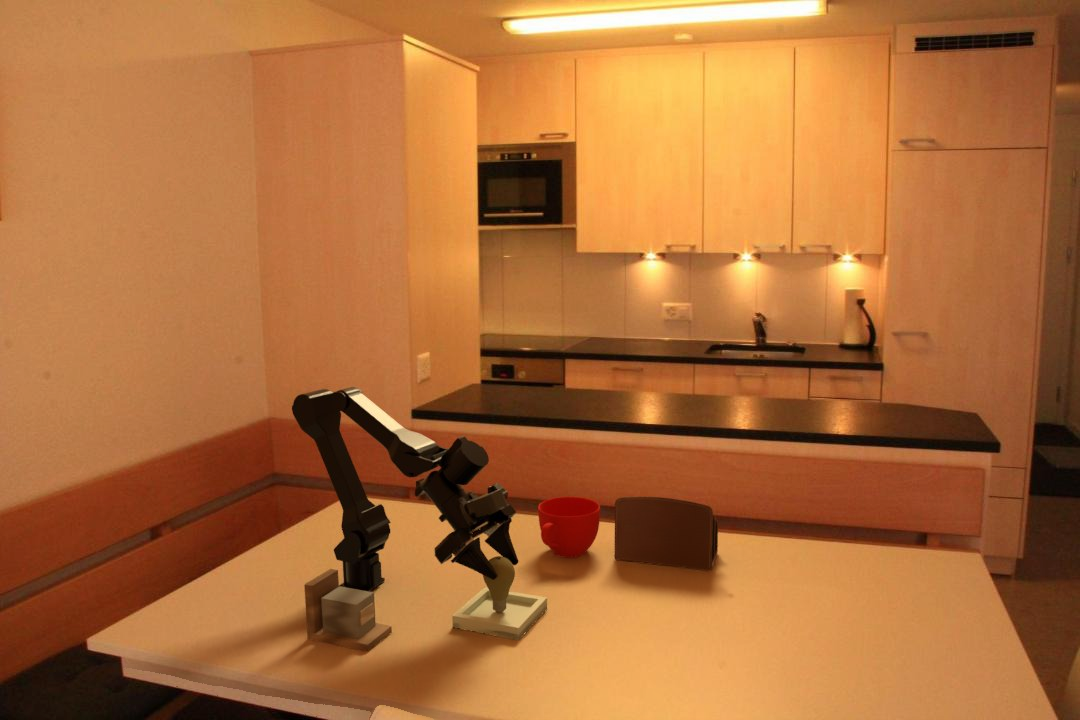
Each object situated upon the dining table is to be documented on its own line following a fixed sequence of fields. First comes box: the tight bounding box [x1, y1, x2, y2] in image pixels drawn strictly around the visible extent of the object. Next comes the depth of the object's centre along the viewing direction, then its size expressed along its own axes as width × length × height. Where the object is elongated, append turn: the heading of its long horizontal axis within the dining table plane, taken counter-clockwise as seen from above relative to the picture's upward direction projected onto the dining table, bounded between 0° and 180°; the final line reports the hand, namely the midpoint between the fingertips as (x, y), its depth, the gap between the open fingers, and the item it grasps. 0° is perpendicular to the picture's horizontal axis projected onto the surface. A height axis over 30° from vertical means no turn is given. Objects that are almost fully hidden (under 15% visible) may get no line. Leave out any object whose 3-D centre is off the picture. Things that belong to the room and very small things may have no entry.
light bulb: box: [482, 555, 516, 613], centre depth 146 cm, size 6×6×10 cm
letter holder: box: [613, 496, 719, 572], centre depth 173 cm, size 10×20×14 cm, turn 71°
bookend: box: [303, 568, 393, 653], centre depth 141 cm, size 12×7×10 cm, turn 67°
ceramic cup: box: [537, 496, 601, 559], centre depth 175 cm, size 13×17×10 cm
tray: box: [451, 586, 548, 641], centre depth 147 cm, size 12×12×2 cm
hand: (506, 570), depth 145 cm, fingers open, 7 cm apart
